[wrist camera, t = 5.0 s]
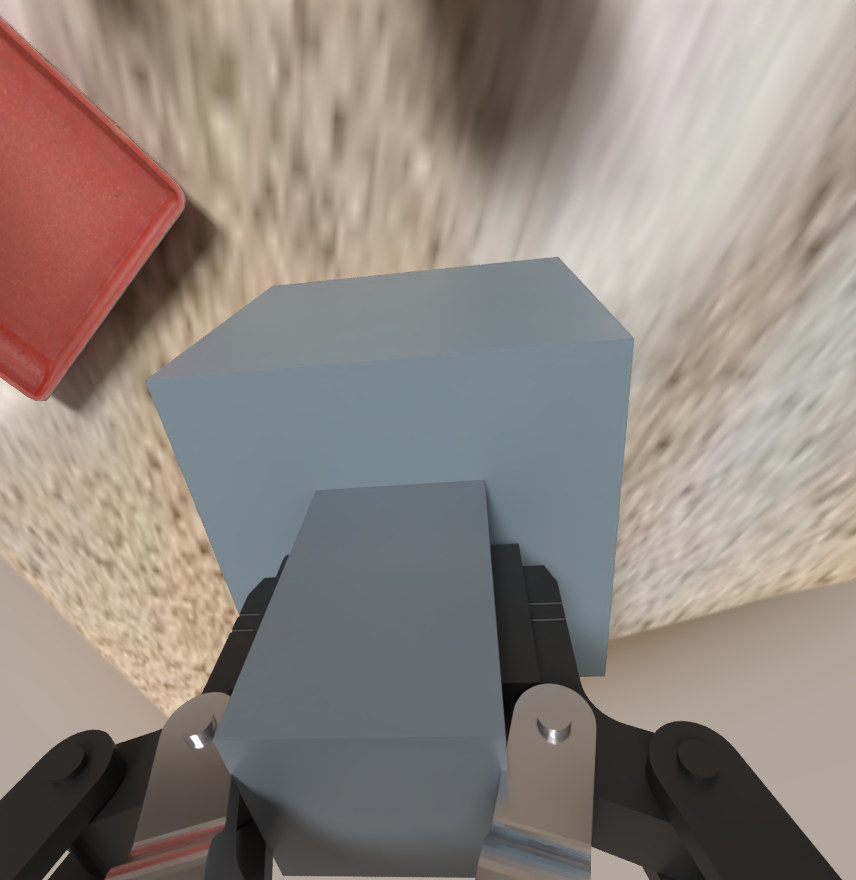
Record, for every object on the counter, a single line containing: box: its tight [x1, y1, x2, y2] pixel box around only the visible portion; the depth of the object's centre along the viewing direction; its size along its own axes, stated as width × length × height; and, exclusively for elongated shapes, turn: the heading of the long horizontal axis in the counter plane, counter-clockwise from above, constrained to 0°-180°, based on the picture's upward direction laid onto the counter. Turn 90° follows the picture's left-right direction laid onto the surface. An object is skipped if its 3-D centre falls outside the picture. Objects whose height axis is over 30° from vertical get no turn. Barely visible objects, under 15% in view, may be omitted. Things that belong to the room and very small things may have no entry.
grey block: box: [145, 257, 634, 878], centre depth 14 cm, size 10×10×15 cm
